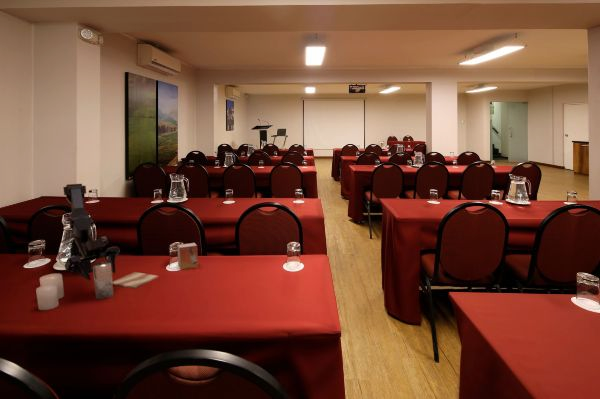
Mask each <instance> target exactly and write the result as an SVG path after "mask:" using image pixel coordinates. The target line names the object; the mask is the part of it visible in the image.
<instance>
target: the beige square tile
mask: <svg viewBox="0 0 600 399" xmlns="http://www.w3.org/2000/svg"><path fill="white" fill-rule="evenodd" d="M157 278H159V275H156V274H148V273H143V272H137V271H134V272H132V273H130V274H126V275H125V276H121V277H119V278H118V279H115V280H112V283H113V285H115V286H120V287H126V288H131V289H137V288H139V287H141V286H143V285H145V284H147V283H149V282H151V281H154V280H156V279H157Z"/></svg>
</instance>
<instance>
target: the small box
mask: <svg viewBox="0 0 600 399" xmlns="http://www.w3.org/2000/svg"><path fill="white" fill-rule="evenodd" d="M176 247H177V265H178V266H177V267H178V268H179V270H188V269H195V268H199V263H198V262H199V260H198V258H199V256H198V245H197V244H196V243H195V242H191V243H183V244H182V243H181V244H177V245H176Z"/></svg>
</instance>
